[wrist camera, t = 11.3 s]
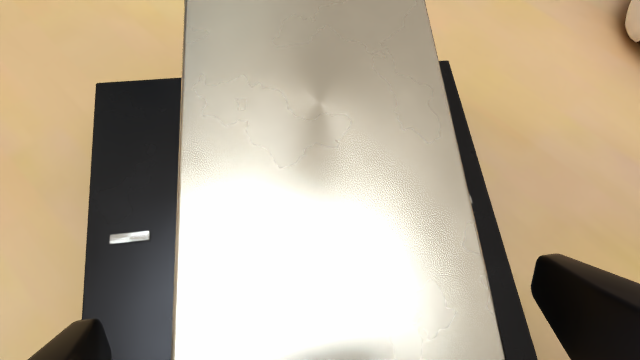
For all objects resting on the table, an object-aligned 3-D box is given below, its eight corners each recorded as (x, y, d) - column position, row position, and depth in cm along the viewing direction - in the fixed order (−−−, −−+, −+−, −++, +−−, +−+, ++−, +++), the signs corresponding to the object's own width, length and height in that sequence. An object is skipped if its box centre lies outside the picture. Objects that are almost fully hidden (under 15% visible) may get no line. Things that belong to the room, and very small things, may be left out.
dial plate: (104, 448, 15) (69, 470, 12) (117, 110, 20) (93, 78, 17) (509, 377, 17) (548, 384, 14) (430, 87, 22) (449, 56, 19)
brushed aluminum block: (386, 348, 15) (517, 365, 6) (232, 364, 14) (163, 403, 6) (353, 106, 18) (412, -83, 10) (229, 110, 17) (184, -88, 9)
